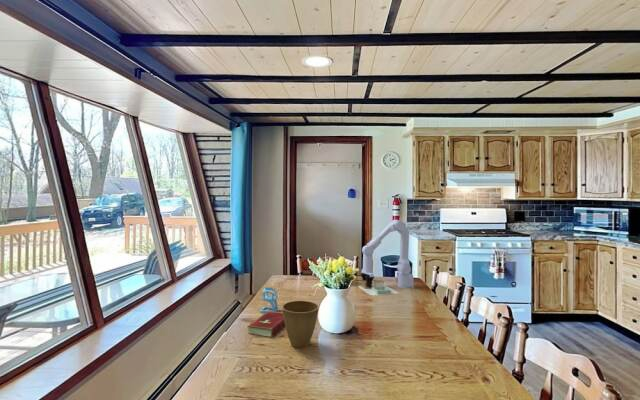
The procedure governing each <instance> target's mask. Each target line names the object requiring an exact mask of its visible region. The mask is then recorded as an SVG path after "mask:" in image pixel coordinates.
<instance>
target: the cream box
mask: <svg viewBox="0 0 640 400" xmlns="http://www.w3.org/2000/svg"><path fill="white" fill-rule="evenodd" d="M372 282H373V285H374V286H375V287H382V286H384V284H385V280H383V279H382V278H381V279H380V278H379V279H373V280H372Z"/></svg>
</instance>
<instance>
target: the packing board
mask: <svg viewBox="0 0 640 400" xmlns="http://www.w3.org/2000/svg"><path fill="white" fill-rule="evenodd" d="M357 287H358V288H359V289H360V290H362V291H363V292H365V293H366V294H367V295H369V296H382V295H383V296H384V295H396V294H399V291H397V290H395V289H394V288H391V287H390V286H388V285H386V284H385V283H384V286H382V287H375V286H374V284H372V288H369V289H365V288H363V287H362V285H357Z"/></svg>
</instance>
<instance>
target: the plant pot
mask: <svg viewBox="0 0 640 400" xmlns="http://www.w3.org/2000/svg"><path fill="white" fill-rule="evenodd" d="M319 307H320V306H319V304H317V303H315V302H313V301H308V300H292V301H291V300H290V301H288V302H286V303H283V305H282V313H283V316H284V322H285V326H284V327H285V330H286V333H287V337H288V339H289V342H290V346H292V347H294V348H299V349H300V348H301V349H302V348H306V347H308V346H310V343H311V340H312V337H313V334H314V331H315V327H316V324H317V323H316V322H317V318H318V314H319Z"/></svg>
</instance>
